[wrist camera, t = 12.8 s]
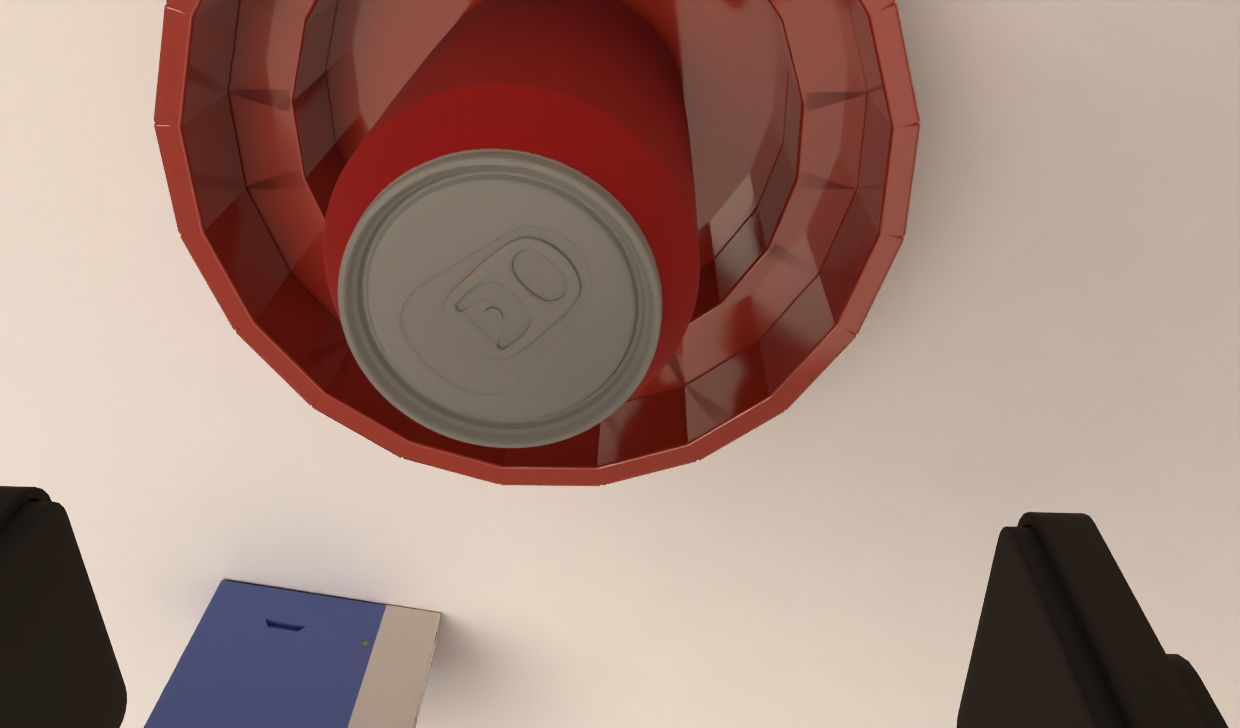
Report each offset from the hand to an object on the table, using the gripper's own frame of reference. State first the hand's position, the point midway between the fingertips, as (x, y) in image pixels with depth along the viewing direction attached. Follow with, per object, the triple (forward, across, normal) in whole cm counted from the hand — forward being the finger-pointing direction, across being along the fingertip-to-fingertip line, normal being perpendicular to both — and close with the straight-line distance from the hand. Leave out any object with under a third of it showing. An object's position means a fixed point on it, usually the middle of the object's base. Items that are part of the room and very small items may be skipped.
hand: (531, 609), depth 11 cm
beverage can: (+20, +2, +1) cm, 20 cm away
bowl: (+20, +2, +1) cm, 20 cm away
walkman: (+20, +10, +20) cm, 30 cm away
